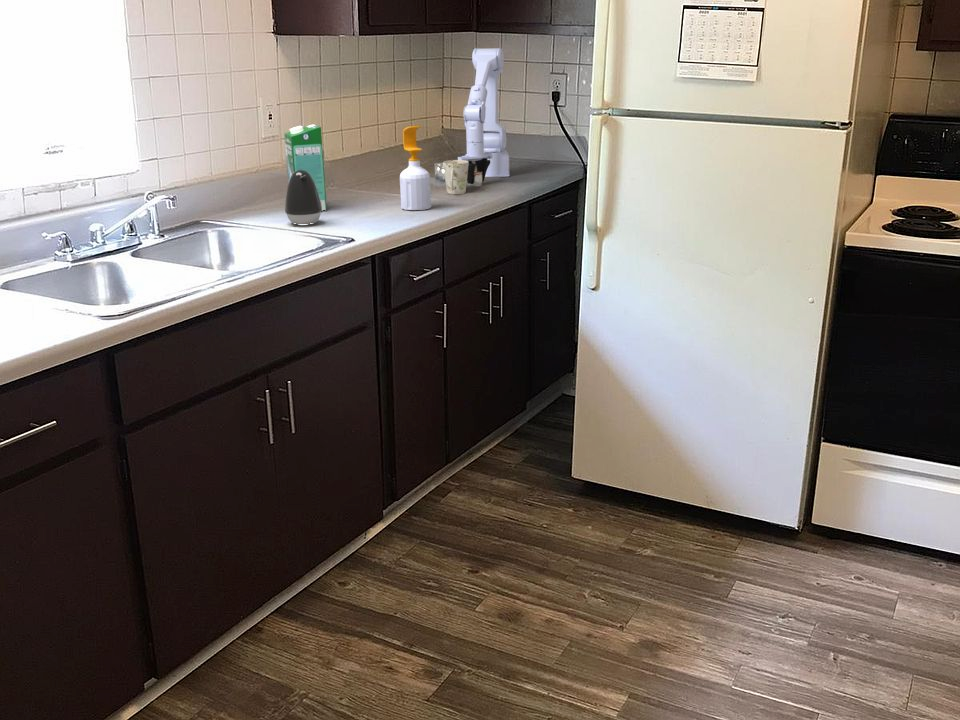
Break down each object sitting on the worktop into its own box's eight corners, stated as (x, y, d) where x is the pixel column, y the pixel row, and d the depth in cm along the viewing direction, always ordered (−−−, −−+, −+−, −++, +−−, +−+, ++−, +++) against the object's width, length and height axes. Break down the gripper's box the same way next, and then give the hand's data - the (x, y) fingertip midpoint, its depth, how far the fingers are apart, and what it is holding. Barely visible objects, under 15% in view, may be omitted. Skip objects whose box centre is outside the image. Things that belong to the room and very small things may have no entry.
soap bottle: (408, 212, 289) (404, 127, 281) (396, 207, 297) (392, 125, 289) (435, 209, 293) (433, 125, 285) (423, 204, 301) (420, 123, 293)
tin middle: (450, 179, 341) (449, 164, 339) (453, 181, 337) (453, 166, 335) (437, 180, 340) (437, 165, 338) (440, 182, 336) (440, 167, 334)
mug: (470, 190, 323) (469, 160, 319) (466, 197, 311) (465, 165, 308) (445, 190, 324) (444, 160, 320) (440, 197, 312) (439, 165, 308)
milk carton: (290, 209, 298) (283, 125, 289) (319, 206, 301) (313, 123, 293) (297, 214, 290) (290, 128, 282) (327, 211, 293) (321, 126, 285)
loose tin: (480, 185, 332) (480, 170, 330) (484, 187, 328) (484, 172, 326) (467, 186, 330) (467, 171, 329) (471, 188, 326) (471, 173, 325)
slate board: (455, 177, 348) (455, 176, 347) (470, 185, 331) (470, 183, 331) (423, 180, 344) (423, 178, 344) (436, 188, 328) (436, 186, 328)
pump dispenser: (291, 229, 270) (286, 174, 265) (282, 222, 279) (278, 168, 274) (327, 225, 274) (323, 171, 269) (317, 218, 283) (313, 166, 278)
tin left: (445, 176, 346) (445, 162, 344) (449, 178, 342) (448, 164, 340) (433, 177, 345) (432, 163, 343) (436, 179, 341) (436, 164, 339)
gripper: (481, 138, 331) (482, 178, 336) (450, 142, 322) (452, 184, 326) (496, 140, 327) (497, 180, 331) (465, 144, 317) (466, 186, 322)
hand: (475, 182), depth 329 cm, fingers closed on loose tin, 4 cm apart
